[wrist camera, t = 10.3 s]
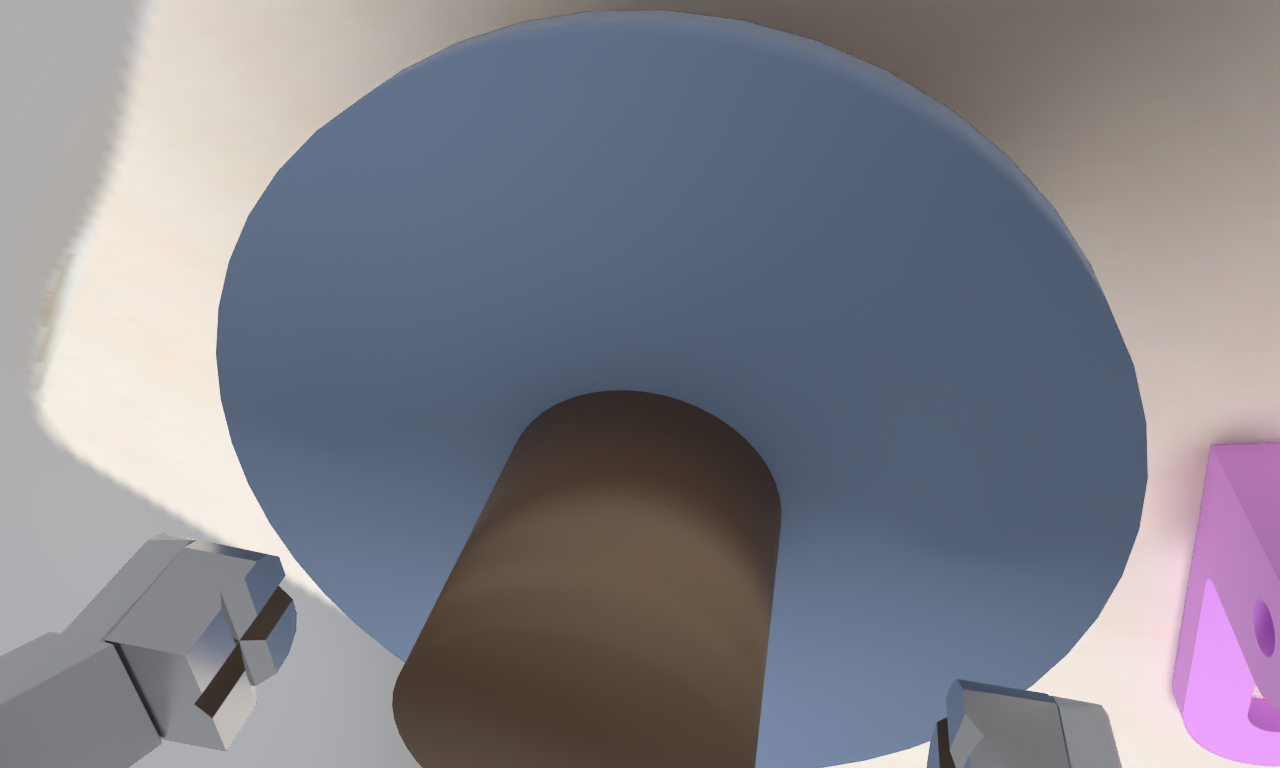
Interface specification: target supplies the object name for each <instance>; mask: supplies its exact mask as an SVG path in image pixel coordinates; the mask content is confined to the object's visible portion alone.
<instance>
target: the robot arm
mask: <svg viewBox="0 0 1280 768" xmlns="http://www.w3.org/2000/svg"><path fill="white" fill-rule="evenodd" d="M284 577H285V573H284V570H283V567H282V564H281V562H280V559H279V557H277V556H273V555H268V554H263V553H259V552H254V551H249V550H244V549H240V548H235V547H230V546H225V545H221V544H216V543H211V542H206V541H202V540H196V539H192V538H187V537H181V536H175V535H171V534H166V533H162V534H159V535H157V536H155V537H153V538H151V539H149V540H148V541H147V542H146V543H145V544H144V545H143V546H142V547H141V548H140V549H139V550H138V551H137V552H136V554H135V555H134V556H133V557H132V558H131V559H130V560H129V561H128V562H127V563H126V564H125V565H124V567H123V568H122V569H121V570H120V571H119V572H118V573H117V574H116V575H115V576H114V578H113V579H112V580H111V581H110V582H109V583H108V584H107V585H106V586H105V587H104V588H103V589H102V590H101V592H100V593H99V594H98V595H97V596H96V597H95V598H94V599H93V600H92V601H91V602H90V604H89V605H88V606H87V607H86V608H85V609H84V610H83V611H82V612H81V613H80V614H79V616H78V617H77V618H76V619H75V620H74V621H73V622H72V623H71V624H70V625H69V626H68V627H67V629H66V630H65V631H64V632H63V633H59V632H53V631H51V632H49V633H47V634H45V635H43V636H41V637H39V638H37V639H35V640H33V641H31V642H29V643H27V644H25V645H22V646H20V647H19V648H17V649H14V650H12V651H10V652H8V653H6V654H4V655H2V656H0V768H129V767H130V766H131V765H133V764H134V763H136V762H137V761H138V760H140V759H141V758H142V757H144V756H145V755H147V754H148V753H149V752H151V751H152V750H153V749H155V748H156V747H157V746H159V745H160V744H161V743H162V741H161V739H164V740H169V741H174V742H180V743H185V744H190V745H196V746H201V747H206V748H212V749H216V750H222V751H227V749H228V748H229V747H230V745H231V743H232V742H233V740H234V739H235V737H236V736H237V734H238V733H239V731H240V729H241V728H242V726H243V725H244V723H245V722H246V720H247V719H248V717H249V715H250V714H251V712H252V711H253V709H254V708H255V706H256V705H257V698H256V688H255V686H256V685H258V684H260V683H261V682H263V681H265V680H266V679H268V678H269V677H271V676H273V675H274V674H276V673H277V672H278V670H279V668H280V667H281V665H282V664H283V662H284V660H285V659H286V657H287V655H288V654H289V651H290V648H291V645H292V642H293V639H294V635H295V632H296V614H297V613H296V609H295V606H294V603H293V599H292V598H291V597H290V596H289V595H288V594H287V593H286V592H284V591H283V590H282V589H281V588H280V587H279V586H278V585H279V584H280V582H281V581H282V579H283V578H284ZM946 708H947V717H946V718H944V719H942V720H940V721H938V722H937V723H936V726H935V729H934V732H933V735H932V738H931V742H930V748H929V755H928V761H927V768H1122V766H1121V762H1120V759H1119V755H1118V751H1117V747H1116V743H1115V739H1114V736H1113V732H1112V728H1111V724H1110V720H1109V716H1108V714H1107V713H1106V711H1105V710H1104V709H1103V707H1102V706H1101V705H1098V704H1094V703H1088V702H1083V701H1077V700H1071V699H1066V698H1060V697H1054V696H1049V695H1048V694H1044V693H1038V692H1032V691H1026V690H1020V689H1014V688H1008V687H1003V686H997V685H991V684H985V683H979V682H973V681H967V680H961V679H956V680H955V681H954V682H953V683H952V684H951V686H950V689H949V691H948V694H947V696H946Z"/></svg>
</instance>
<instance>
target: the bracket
mask: <svg viewBox="0 0 1280 768" xmlns="http://www.w3.org/2000/svg"><path fill="white" fill-rule="evenodd" d="M1255 684H1256V685H1257V687H1258V689H1259V691H1260V693H1261V694H1262V695H1263V697H1264V698H1265V699H1254V698H1252V694H1253V690H1254V686H1255ZM1172 685H1173V692H1174V695H1175V698H1176V701H1177V704H1178V707H1179V710H1180V713H1181V716H1182V719H1183V722H1184V725H1185V728H1186V730H1187V732H1188V733H1189V735H1190V736H1191V737H1192V738H1193V739H1194V740H1195V741H1196V742H1197V743H1198V744H1199V745H1200V746H1202V747H1203V748H1205V749H1206V750H1208V751H1210V752H1212V753H1214V754H1216V755H1218V756H1221V757H1223V758H1226V759H1230V760H1233V761H1237V762H1241V763H1247V764H1253V765H1262V766H1280V442H1272V443H1246V444H1220V445H1211V447H1210V453H1209V459H1208V465H1207V472H1206V478H1205V484H1204V490H1203V496H1202V502H1201V509H1200V515H1199V521H1198V527H1197V533H1196V539H1195V546H1194V552H1193V558H1192V564H1191V570H1190V576H1189V582H1188V589H1187V595H1186V601H1185V607H1184V613H1183V619H1182V626H1181V632H1180V638H1179V644H1178V650H1177V656H1176V663H1175V669H1174V675H1173V684H1172Z"/></svg>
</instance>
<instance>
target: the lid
mask: <svg viewBox="0 0 1280 768" xmlns="http://www.w3.org/2000/svg"><path fill="white" fill-rule="evenodd" d="M216 357H217V367H218V376H219V386H220V395H221V401H222V405H223V409H224V413H225V417H226V421H227V425H228V429H229V433H230V437H231V441H232V444H233V446H234V449H235V451H236V454H237V456H238V459H239V461H240V464H241V466H242V469H243V471H244V474H245V476H246V479H247V481H248V484H249V486H250V488H251V489H252V491H253V493H254V495H255V497H256V499H257V500H258V502H259V504H260V506H261V508H262V510H263V511H264V513H265V515H266V517H267V519H268V521H269V522H270V524H271V525H272V527H273V528H274V530H275V531H276V533H277V534H278V535H279V537H280V538H281V540H282V541H283V543H284V544H285V545H286V547H287V548H288V550H289V551H290V553H291V554H292V556H293V557H294V558H295V560H296V561H297V562H298V563H299V564H300V566H301V567H302V568H303V569H304V570H305V571H306V573H307V574H308V575H309V576H310V577H311V578H312V580H313V581H314V582H315V583H316V584H317V585H318V587H319V588H320V589H321V590H322V591H323V592H324V594H325V595H327V596H328V597H329V598H330V599H331V600H332V601H333V602H334V603H335V604H336V605H337V606H338V607H339V608H340V609H341V610H342V611H343V612H344V613H345V614H346V615H347V616H348V617H349V618H350V619H351V620H352V621H353V622H354V623H355V624H356V625H358V626H359V627H360V628H361V629H363V630H364V631H365V632H366V633H368V634H369V635H370V636H371V637H373V638H374V639H375V640H376V641H377V642H379V643H380V644H381V645H382V646H384V647H385V648H386V649H387V650H388V651H390V652H391V653H392V654H394V655H395V656H397V657H398V658H400V659H401V660H402V661H404V662H405V664H404V666H403V668H402V670H401V672H400V674H399V676H398V678H397V681H396V684H395V688H394V691H393V703H392V706H393V713H394V719H395V722H396V725H397V728H398V731H399V734H400V735H401V737H402V739H403V741H404V743H405V745H406V747H407V748H408V750H409V751H410V752H411V754H412V755H413V757H414V758H415V759H416V761H417V762H418V763H419V764H420V765H421V766H422V767H423V768H823V767H828V766H834V765H840V764H846V763H852V762H858V761H864V760H868V759H872V758H876V757H880V756H883V755H887V754H891V753H895V752H899V751H902V750H906V749H910V748H912V747H915V746H918V745H920V744H923V743H926V742H928V741H931V738H932V735H933V732H934V729H935V726H936V723H937V722H938V721H940V720H942V719H944V718H946V717H947V708H946V696H947V694H948V691H949V689H950V686H951V684H952V683H953V682H954V681H955V680H956V679H961V680H967V681H973V682H979V683H985V684H991V685H997V686H1003V687H1008V688H1014V689H1020V690H1026V689H1028V688H1029V687H1031V686H1032V685H1033V684H1035V683H1036V682H1037V681H1038V680H1039V679H1040V678H1041V677H1042V676H1043V675H1045V674H1046V673H1047V672H1048V671H1049V670H1050V669H1051V668H1052V667H1054V666H1055V665H1056V664H1057V663H1058V662H1059V661H1060V660H1061V659H1062V658H1064V657H1065V656H1066V655H1067V654H1068V653H1069V652H1070V650H1071V649H1072V648H1073V647H1074V646H1075V644H1076V643H1077V642H1078V641H1079V640H1080V638H1081V637H1082V636H1083V635H1084V633H1085V632H1086V631H1087V630H1088V629H1089V627H1090V626H1091V625H1092V624H1093V623H1094V621H1095V620H1096V619H1097V618H1098V616H1099V614H1100V613H1101V611H1102V609H1103V608H1104V606H1105V604H1106V602H1107V601H1108V599H1109V597H1110V596H1111V594H1112V592H1113V590H1114V589H1115V587H1116V585H1117V584H1118V582H1119V580H1120V578H1121V577H1122V574H1123V572H1124V569H1125V566H1126V564H1127V561H1128V558H1129V555H1130V553H1131V550H1132V547H1133V544H1134V542H1135V539H1136V536H1137V533H1138V531H1139V527H1140V521H1141V515H1142V509H1143V503H1144V497H1145V491H1146V484H1147V478H1148V474H1147V435H1146V420H1145V415H1144V410H1143V406H1142V401H1141V397H1140V392H1139V387H1138V383H1137V378H1136V373H1135V369H1134V365H1133V362H1132V360H1131V357H1130V355H1129V353H1128V350H1127V348H1126V346H1125V343H1124V341H1123V338H1122V336H1121V334H1120V331H1119V329H1118V326H1117V324H1116V322H1115V319H1114V317H1113V314H1112V312H1111V310H1110V307H1109V305H1108V303H1107V300H1106V298H1105V296H1104V294H1103V291H1102V289H1101V287H1100V285H1099V282H1098V280H1097V278H1096V276H1095V273H1094V271H1093V269H1092V267H1091V264H1090V263H1089V261H1088V260H1087V258H1086V257H1085V255H1084V253H1083V252H1082V250H1081V249H1080V247H1079V245H1078V244H1077V242H1076V241H1075V239H1074V238H1073V236H1072V234H1071V233H1070V231H1069V230H1068V228H1067V227H1066V225H1065V223H1064V222H1063V220H1062V219H1061V217H1060V215H1059V214H1058V212H1057V211H1056V209H1055V208H1054V207H1053V206H1052V205H1051V204H1050V202H1049V201H1048V200H1047V199H1046V198H1045V197H1044V196H1043V195H1042V193H1041V192H1040V191H1039V190H1038V189H1037V188H1036V187H1035V186H1034V184H1033V183H1032V182H1031V181H1030V180H1029V179H1028V178H1027V176H1026V175H1025V174H1024V173H1023V172H1022V171H1021V170H1020V169H1019V167H1018V166H1017V165H1016V164H1015V163H1014V162H1013V161H1012V160H1011V158H1010V157H1008V156H1007V155H1006V154H1005V153H1004V152H1002V151H1001V150H1000V149H999V148H998V147H996V146H995V145H994V144H993V143H992V142H990V141H989V140H988V139H987V138H986V137H984V136H983V135H982V134H981V133H980V132H978V131H977V130H976V129H975V128H974V127H972V126H971V125H970V124H969V123H968V122H966V121H965V120H964V119H963V118H962V117H960V116H959V115H958V114H957V113H956V112H954V111H953V110H951V109H950V108H948V107H946V106H945V105H943V104H941V103H940V102H938V101H936V100H935V99H933V98H932V97H930V96H928V95H927V94H925V93H923V92H922V91H920V90H918V89H917V88H915V87H914V86H912V85H910V84H909V83H907V82H905V81H904V80H902V79H900V78H899V77H897V76H896V75H894V74H892V73H891V72H889V71H887V70H884V69H882V68H880V67H877V66H875V65H873V64H870V63H868V62H866V61H863V60H861V59H859V58H856V57H854V56H852V55H849V54H847V53H845V52H842V51H840V50H838V49H836V48H833V47H831V46H829V45H826V44H824V43H822V42H819V41H816V40H813V39H809V38H805V37H802V36H798V35H795V34H791V33H787V32H784V31H780V30H776V29H773V28H769V27H766V26H762V25H758V24H755V23H751V22H747V21H744V20H737V19H729V18H722V17H714V16H707V15H699V14H691V13H684V12H676V11H669V10H645V11H589V12H583V13H577V14H570V15H564V16H557V17H551V18H544V19H538V20H532V21H525V22H521V23H517V24H514V25H511V26H508V27H505V28H502V29H498V30H495V31H492V32H489V33H486V34H482V35H479V36H476V37H473V38H470V39H467V40H463V41H460V42H458V43H456V44H454V45H452V46H450V47H448V48H446V49H444V50H442V51H440V52H438V53H436V54H434V55H432V56H430V57H428V58H426V59H424V60H422V61H420V62H418V63H416V64H414V65H412V66H410V67H408V68H406V69H404V70H402V71H400V72H399V73H397V74H396V75H395V76H393V77H392V78H390V79H389V80H387V81H386V82H384V83H383V84H381V85H380V86H378V87H377V88H376V89H374V90H373V91H371V92H370V93H368V94H367V95H365V96H364V97H363V98H361V99H360V100H359V101H357V102H356V103H354V104H353V105H352V106H350V107H349V108H348V109H346V110H345V111H343V112H342V113H341V114H339V115H338V116H336V117H335V118H334V119H332V120H331V121H330V122H328V123H327V124H325V125H324V126H323V127H321V128H320V129H319V130H317V131H316V132H315V133H314V134H313V135H312V136H311V137H310V138H309V139H308V140H307V142H306V143H305V144H304V145H303V146H302V147H301V148H300V149H299V150H298V151H297V152H296V153H295V154H294V155H293V156H292V157H291V158H290V159H289V160H288V161H287V162H286V163H285V164H284V165H283V166H282V168H281V169H280V170H279V171H278V172H277V173H276V175H275V176H274V178H273V179H272V181H271V182H270V184H269V185H268V187H267V188H266V190H265V191H264V193H263V194H262V196H261V197H260V199H259V201H258V202H257V204H256V205H255V207H254V208H253V210H252V211H251V213H250V214H249V216H248V218H247V220H246V223H245V225H244V228H243V230H242V232H241V235H240V237H239V239H238V242H237V244H236V246H235V249H234V251H233V253H232V256H231V258H230V261H229V264H228V269H227V273H226V277H225V282H224V286H223V291H222V295H221V300H220V304H219V310H218V329H217V348H216Z"/></svg>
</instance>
